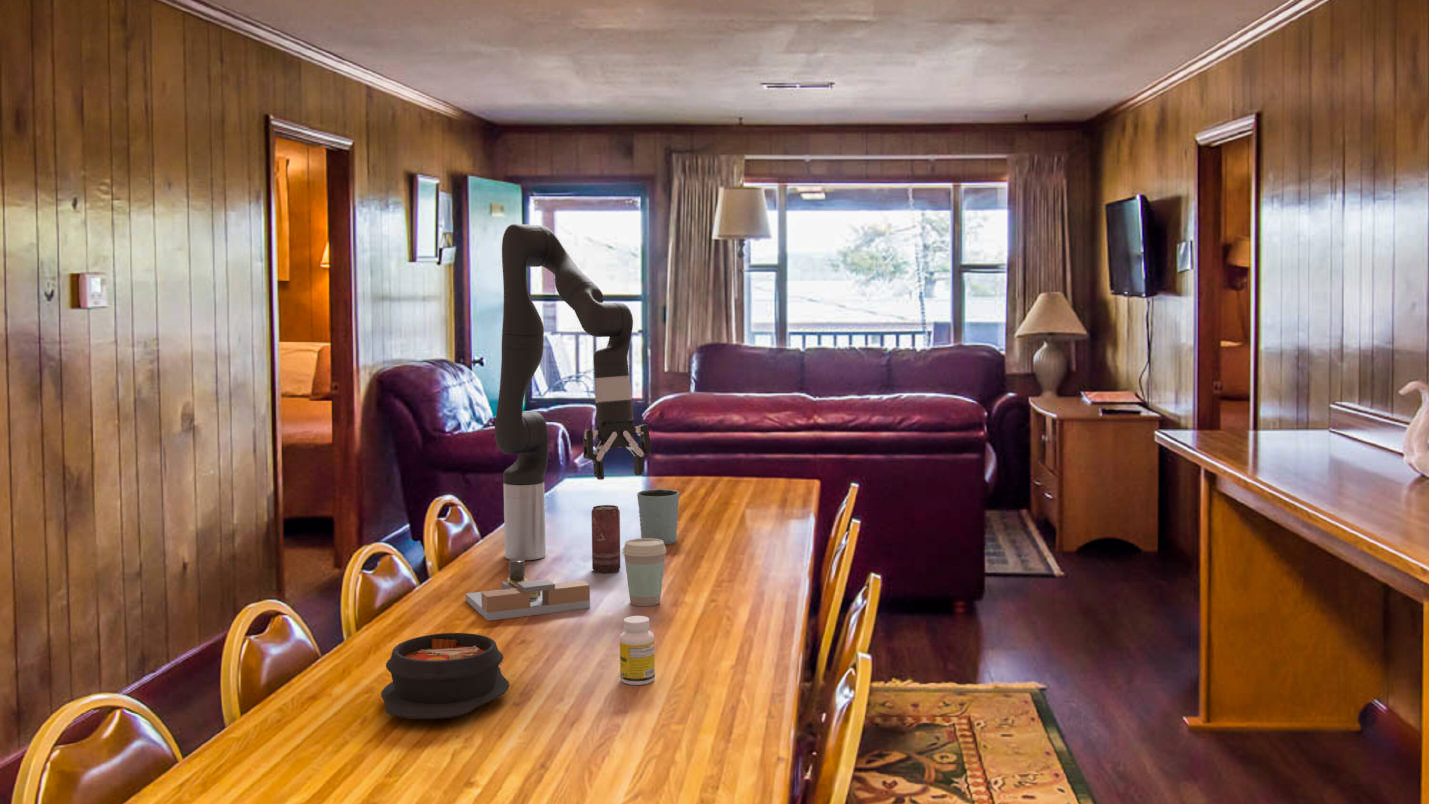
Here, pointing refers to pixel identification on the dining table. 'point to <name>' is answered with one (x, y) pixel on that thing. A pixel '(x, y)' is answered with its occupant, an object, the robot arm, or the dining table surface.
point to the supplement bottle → (637, 652)
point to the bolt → (518, 575)
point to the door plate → (530, 599)
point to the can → (605, 539)
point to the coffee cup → (644, 570)
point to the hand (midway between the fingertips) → (619, 477)
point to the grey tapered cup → (659, 514)
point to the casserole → (443, 676)
